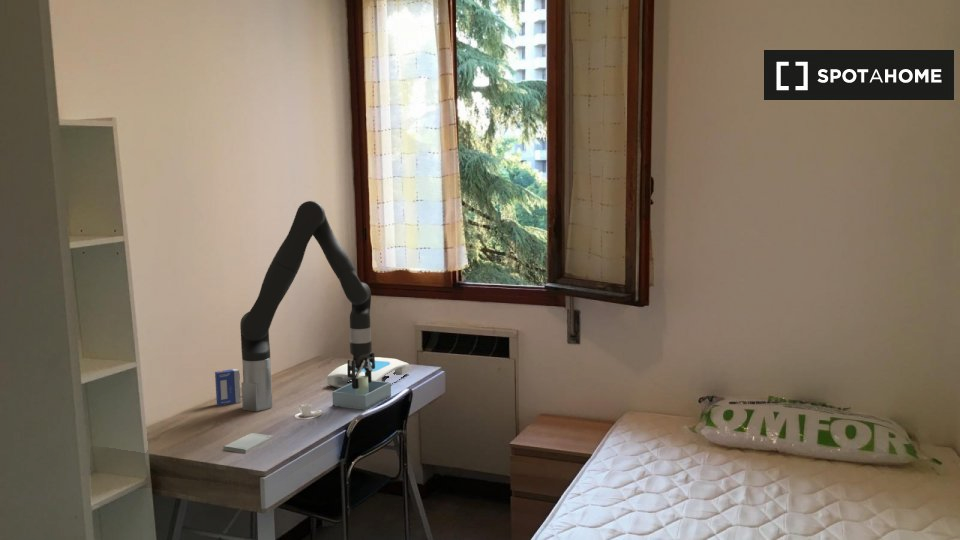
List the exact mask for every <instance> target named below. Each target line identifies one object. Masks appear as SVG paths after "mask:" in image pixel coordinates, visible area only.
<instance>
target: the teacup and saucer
mask: <svg viewBox="0 0 960 540" xmlns="http://www.w3.org/2000/svg"><path fill="white" fill-rule="evenodd" d="M300 407H301V409H300ZM298 411H299V413H296V414H295V415H294V418H295V419H298V420H310V419H314V418H317V417H319V416H321V415H323V410H321V409H317V410H314V411H313V410H312V404H311V403H303V404H301V405H299V406H298ZM300 415H302V416H303V417H300Z"/></svg>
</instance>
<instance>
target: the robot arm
mask: <svg viewBox="0 0 960 540" xmlns="http://www.w3.org/2000/svg"><path fill="white" fill-rule="evenodd" d="M312 237H313V238H314V239H315V240H316V242H317V243H318V245H319V247H320V248H321V251H322V252H323V254H324V256H325V258H326V261H327V262H328V264H329V265H330V267H331V270H332V271H333V273H334V275H335V277H336V278H337V279H338V281H339V282H340V285H341V288H342V290H343V293H344V294H345V297H346V298H347V299H348V301H349V302H350V303H351V311H350V312H349V313H350V314H349V353H350V354H351V355H352V359H347V363H348V377H350V378H352V381H351V383H352V388H353V389H358V388H359V382H358V376H359V373H361V371H362V369H364V370H365V371H366V372H365V376H367V377H368V383H370V382H371V381H372V380H371V379H372V378H371V372H372V370H373V369H375V357H376V356H375V353H374V352H372V351H373V346H372V345H373V344H372V330H371V313H370V312H371V311H370V310H371V305H372V304H371V303H372V293H371V288H370V286H369V285H368V284H367V283H366V282H362V281H361V280H360V278H359V276H358V271H357V268H356V267H355V264H354V263H353V261H352V259H351V258H350V256H349V255H348V253H347V252H346V250H345V249H344V248H343V246H342V245H341V243H340V241H339V240H338V239H337V237H336V236H335V234H334V232H333V229H332V228H331V226H330V223H329V221H328V217H327V216H326V211H325V209H324V207H323V206H322V205H321V204H320V203H319V202H317V201H315V200H314V201H313V200H307V201H304V202H303V203H301V204H300V205H299V206H298V207H297V211H296V213H295V215H294V219H293V222H292V224H291V226H290V228H289V231H288V233H287V235H286V237H285V238H284V240H283V242H282V243H281V244H280V247H279V248H278V250H277V252H276V253H275V255H274V257H273V258H272V260H271V262H270V264H269V266H268V268H267V271H266V272H265V275H264V278H263V281H262V283H261V287H260V290H259V293H258V296H257V298H256V300H255V302H254V304H253V305H252V307H251V309H250V310H249V311H247V312H246V313H245V314H243V315H242V317H241V319H240V326H239V327H240V341H241V342H240V343H241V349H240V350H241V359H242V360H241V361H242V362H241V364H242V378H243V379H242V382H241V400H242V401H241V402H242V410H244V411H249V412H259V411H264V410H269V409H270V408H272V407H273V406H274V405H273V388H272V386H273V385H272V365H271V364H272V363H271V347H270V344H271V343H270V332H269V330H270V328H271V325H272V322H273V319H274V317H275V315H276V313H277V312H276V311H277V309H278V308H279V305H280V304H281V302H282V301H283V299H284V298H285V296H286V294H287V293H288V291H289V289H290V287H291V286H292V284H293V283H294V281H295V279H296V276H297V274H298V273H299V270H300V268H301V265H302V263H303V260H304V256H305V253H306V249H307V246H308V244H309V243H310V241H311V239H312ZM370 362H371V363H372V365H371V363H370ZM355 367H356V369H355ZM351 371H352V373H351ZM355 372H357V373H356V375H355Z"/></svg>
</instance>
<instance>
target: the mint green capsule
mask: <svg viewBox="0 0 960 540" xmlns="http://www.w3.org/2000/svg"><path fill="white" fill-rule="evenodd" d="M358 382H359V388H358V389H355V393H356V394H361V395H366V394H368V393H369V388H368V377H367V376H358Z"/></svg>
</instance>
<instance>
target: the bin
mask: <svg viewBox="0 0 960 540" xmlns="http://www.w3.org/2000/svg"><path fill="white" fill-rule="evenodd" d="M349 383H350V384H348V385H346V386H344V387H341V388H336V389H335V390H333V391H332V393H331V394H332V395H331V398H332V406H333V405H335V406H334V407H338V406H341V407H340V408H346V407H347V409H357V410H361V411H362V410H363V411H366V410H369V409H371V408H372V407H374V406H376V405H378V404H380V403H382V402H384V401H385V400H387V399H389V398H391V397H390V396H392V384H391V383H389V382H380V381H371V382H370V383H368V388H369V393H368V394H366V395H361V394H356V393H355V389H353V388H352V382H349ZM388 397H389V398H388ZM379 402H380V403H379Z"/></svg>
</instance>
